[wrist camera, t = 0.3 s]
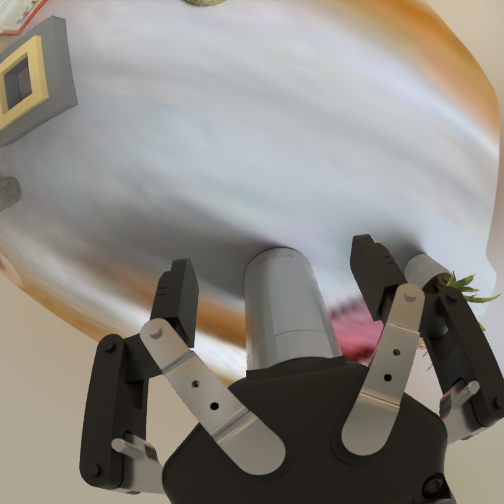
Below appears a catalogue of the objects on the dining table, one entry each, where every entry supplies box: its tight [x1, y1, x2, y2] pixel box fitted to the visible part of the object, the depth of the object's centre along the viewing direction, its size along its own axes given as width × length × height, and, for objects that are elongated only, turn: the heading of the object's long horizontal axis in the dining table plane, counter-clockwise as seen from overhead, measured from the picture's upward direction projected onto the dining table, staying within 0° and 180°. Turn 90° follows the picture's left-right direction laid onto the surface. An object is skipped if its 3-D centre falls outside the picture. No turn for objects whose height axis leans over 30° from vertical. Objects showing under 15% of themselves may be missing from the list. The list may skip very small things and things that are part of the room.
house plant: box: [404, 254, 499, 370], centre depth 32 cm, size 14×14×16 cm
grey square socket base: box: [0, 16, 78, 148], centre depth 19 cm, size 13×13×4 cm
